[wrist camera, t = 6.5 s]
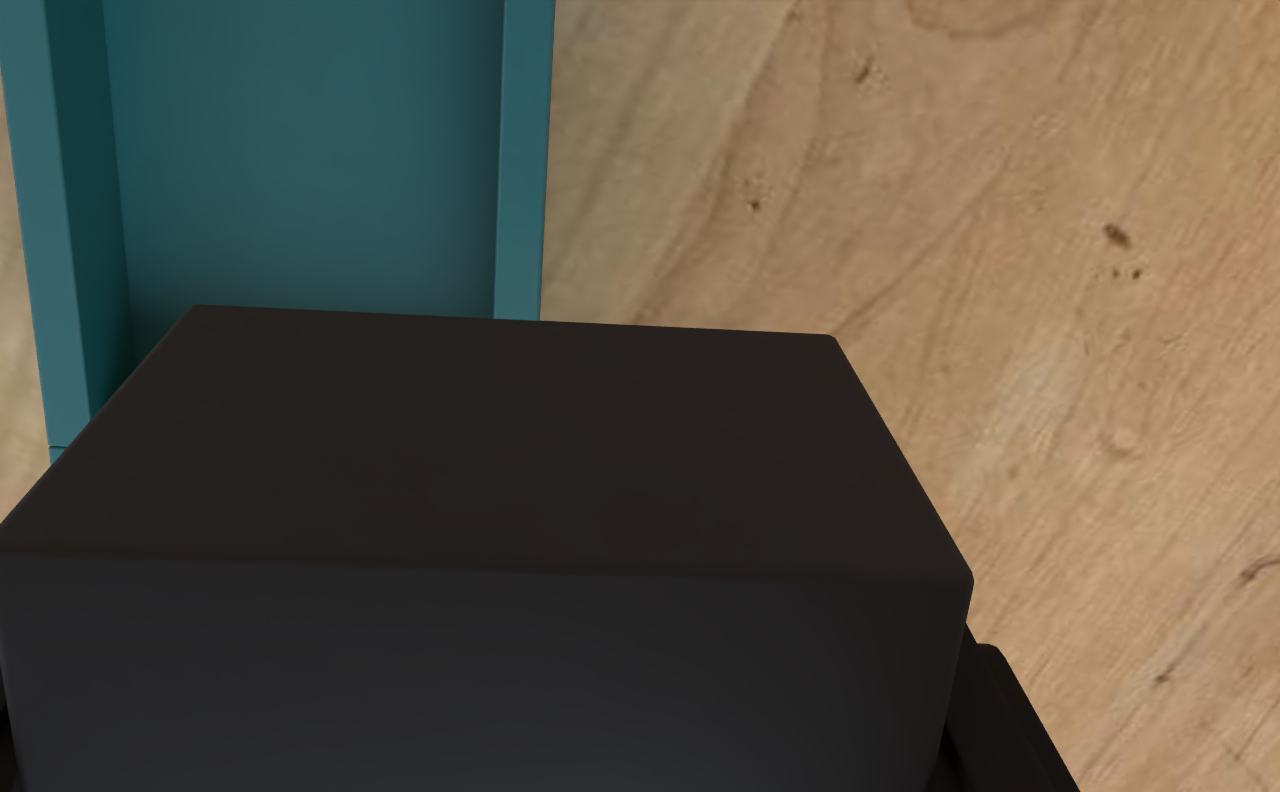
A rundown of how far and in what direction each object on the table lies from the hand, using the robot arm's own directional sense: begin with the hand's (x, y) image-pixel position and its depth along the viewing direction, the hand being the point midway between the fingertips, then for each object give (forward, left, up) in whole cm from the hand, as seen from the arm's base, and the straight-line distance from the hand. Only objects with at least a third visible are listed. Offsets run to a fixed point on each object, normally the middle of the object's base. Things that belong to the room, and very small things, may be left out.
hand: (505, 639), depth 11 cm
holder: (-3, -4, -14) cm, 14 cm away
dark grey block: (0, 0, 0) cm, 0 cm away
